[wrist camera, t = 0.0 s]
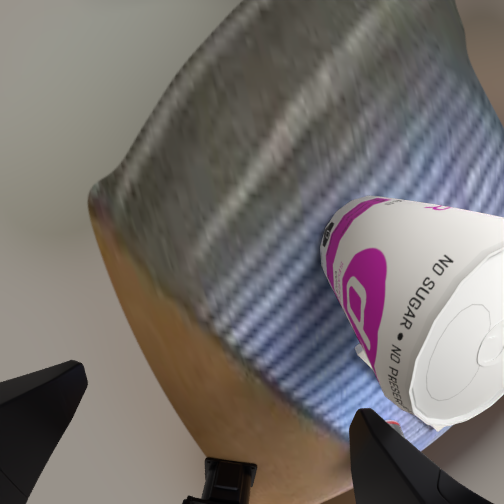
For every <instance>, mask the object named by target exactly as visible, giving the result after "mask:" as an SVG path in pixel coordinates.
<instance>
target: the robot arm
mask: <svg viewBox="0 0 504 504" xmlns="http://www.w3.org/2000/svg"><path fill="white" fill-rule="evenodd" d="M87 385H88V381H87V377H86V373H85V369H84V366H83V364H82V363H80V362H78V361H75V360H70V361H67V362H64V363H61V364H58V365H55V366H52V367H49V368H45V369H42V370H39V371H36V372H33V373H30V374H26V375H23V376H20V377H17V378H13V379H10V380H6V381H3V382H0V504H26V502H27V500H28V497H29V496H30V494H31V492H32V490H33V488H34V486H35V484H36V482H37V480H38V478H39V476H40V474H41V473H42V471H43V469H44V467H45V465H46V463H47V462H48V460H49V458H50V456H51V454H52V453H53V451H54V449H55V447H56V446H57V444H58V442H59V440H60V439H61V437H62V435H63V434H64V432H65V430H66V428H67V427H68V425H69V423H70V422H71V420H72V418H73V416H74V414H75V412H76V409H77V407H78V405H79V403H80V401H81V399H82V396H83V395H84V393H85V390H86V388H87ZM349 438H350V459H351V473H352V480H353V486H354V493H355V499H356V504H493V503H491V502H490V501H488V500H486V499H484V498H483V497H481V496H479V495H478V494H476V493H474V492H473V491H471V490H469V489H468V488H466V487H465V486H463V485H462V484H460V483H458V482H457V481H456V480H455V479H453V478H452V477H451V476H449V475H448V474H447V473H446V472H445V471H443V470H442V469H440V467H438V466H437V465H436V464H435V463H434V462H432V461H431V460H430V459H429V458H427V457H426V456H425V455H424V454H423V453H422V452H420V451H419V450H418V449H417V448H416V447H415V446H413V445H412V444H411V443H410V442H409V441H408V440H406V439H405V438H404V437H403V436H402V435H401V434H400V433H398V432H397V431H396V430H395V429H394V428H393V427H392V426H390V425H389V424H388V423H387V422H386V421H385V420H384V419H383V418H381V417H380V416H379V415H378V414H377V413H376V412H375V411H374V410H372V409H371V408H360V409H358V410H357V412H356V414H355V416H354V418H353V420H352V423H351V425H350V428H349ZM256 470H257V465H256V464H249V463H241V462H233V461H226V460H220V459H214V458H206V459H205V479H206V482H205V486H204V490H203V494H202V498H201V499H199V498H195V497H192V496H188V497H187V499H184V500H183V503H182V504H249V496H250V487H252V486H253V483H254V479H255V475H256Z"/></svg>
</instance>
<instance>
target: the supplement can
mask: <svg viewBox="0 0 504 504" xmlns="http://www.w3.org/2000/svg"><path fill="white" fill-rule="evenodd" d="M320 252H321V266H322V268H323V271H324V273H325V275H326V277H327V279H328V282H329V284H330V285H331V287H332V289H333V291H334V293H335V295H336V297H337V299H338V301H339V303H340V304H341V306H342V308H343V310H344V312H345V314H346V316H347V318H348V320H349V322H350V324H351V326H352V328H353V330H354V332H355V334H356V336H357V338H358V340H359V342H360V344H361V346H362V348H363V350H364V352H365V354H366V356H367V358H368V361H369V363H370V365H371V367H372V369H373V371H374V373H375V375H376V378H377V380H378V382H379V384H380V386H381V388H382V391H383V393H384V395H385V396H386V397H387V398H388V399H389V400H391V401H392V402H393V403H394V404H395V405H397V406H398V407H399V408H400V409H402V410H403V411H406V412H408V413H410V414H413V415H415V416H417V417H418V418H420V419H421V420H422V421H423V422H424V423H426V424H427V425H435V426H450V425H453V424H456V423H460V422H463V421H466V420H469V419H471V418H472V417H474V416H476V415H477V414H479V413H481V412H482V411H484V410H485V409H487V408H489V407H490V406H492V405H493V404H494V403H495V402H496V401H497V400H498V399H499V398H500V397H501V396H502V395H504V218H502V217H498V216H493V215H488V214H484V213H479V212H474V211H468V210H463V209H458V208H452V207H446V206H440V205H434V204H428V203H422V202H415V201H408V200H401V199H393V198H386V197H377V196H366V197H362V198H358V199H355V200H351V201H350V202H349V203H347V204H346V205H345V206H343V207H342V208H341V209H339V210H338V211H337V212H336V213H335V214H334V216H333V217H332V219H331V220H330V222H329V223H328V225H327V226H326V228H325V231H324V235H323V238H322V242H321V246H320Z"/></svg>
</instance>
